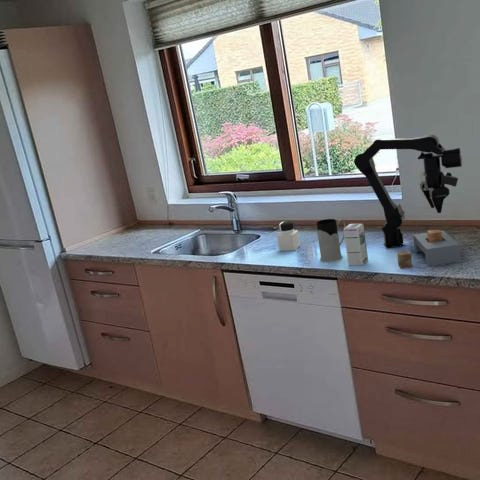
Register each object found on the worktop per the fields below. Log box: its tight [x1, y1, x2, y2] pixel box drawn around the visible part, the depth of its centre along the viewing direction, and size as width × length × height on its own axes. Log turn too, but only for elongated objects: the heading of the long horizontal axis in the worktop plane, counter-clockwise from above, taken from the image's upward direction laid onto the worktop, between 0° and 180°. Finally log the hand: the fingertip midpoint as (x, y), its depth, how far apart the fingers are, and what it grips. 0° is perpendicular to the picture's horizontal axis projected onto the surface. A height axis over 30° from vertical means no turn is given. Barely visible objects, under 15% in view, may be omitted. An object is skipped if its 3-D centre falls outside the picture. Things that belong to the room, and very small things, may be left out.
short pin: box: [396, 249, 413, 270], centre depth 197 cm, size 4×4×5 cm
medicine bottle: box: [276, 220, 301, 252], centre depth 243 cm, size 7×7×12 cm
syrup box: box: [343, 222, 369, 266], centre depth 208 cm, size 6×6×14 cm
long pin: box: [426, 229, 442, 243], centre depth 202 cm, size 4×4×9 cm
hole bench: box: [412, 230, 462, 267], centre depth 202 cm, size 11×20×6 cm, turn 176°
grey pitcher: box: [316, 218, 347, 263], centre depth 220 cm, size 9×14×15 cm, turn 126°
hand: (436, 210), depth 213 cm, fingers open, 9 cm apart
